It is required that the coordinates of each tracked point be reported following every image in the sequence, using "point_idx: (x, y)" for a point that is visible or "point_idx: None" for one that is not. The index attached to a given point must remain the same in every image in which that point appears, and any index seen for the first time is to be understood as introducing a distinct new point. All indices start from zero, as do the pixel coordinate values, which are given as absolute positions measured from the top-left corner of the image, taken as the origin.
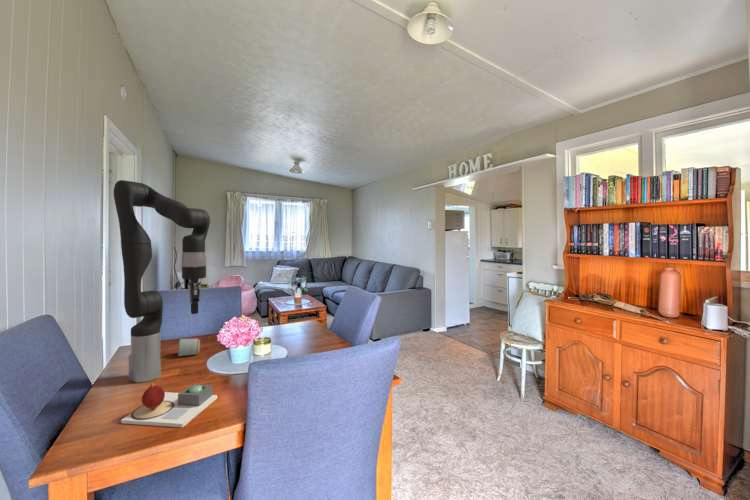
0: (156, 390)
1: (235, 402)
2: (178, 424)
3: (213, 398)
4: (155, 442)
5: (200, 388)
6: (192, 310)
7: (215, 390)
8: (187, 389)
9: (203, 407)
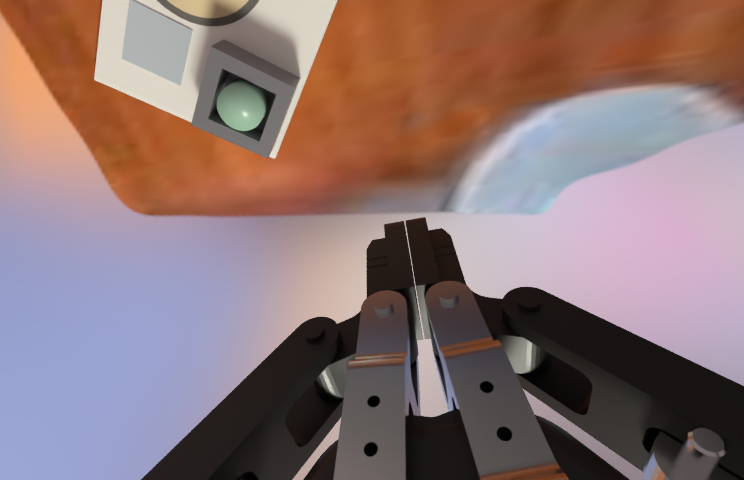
0: None
1: (236, 203)
2: (97, 65)
3: None
4: (13, 9)
5: (231, 126)
6: (375, 252)
7: (336, 144)
8: (248, 76)
9: None
